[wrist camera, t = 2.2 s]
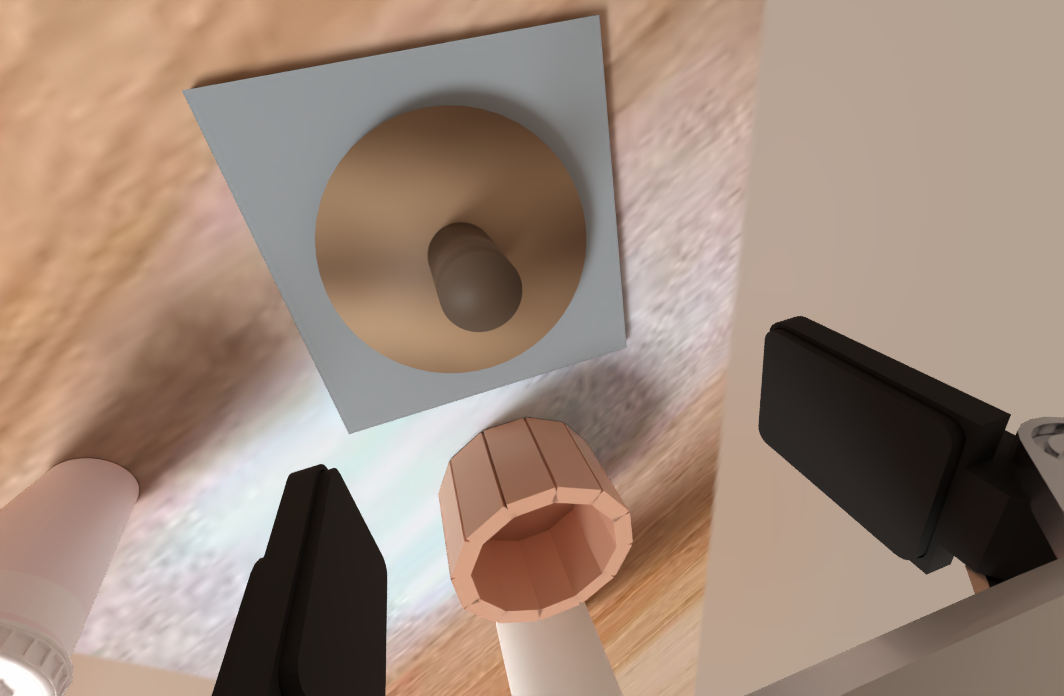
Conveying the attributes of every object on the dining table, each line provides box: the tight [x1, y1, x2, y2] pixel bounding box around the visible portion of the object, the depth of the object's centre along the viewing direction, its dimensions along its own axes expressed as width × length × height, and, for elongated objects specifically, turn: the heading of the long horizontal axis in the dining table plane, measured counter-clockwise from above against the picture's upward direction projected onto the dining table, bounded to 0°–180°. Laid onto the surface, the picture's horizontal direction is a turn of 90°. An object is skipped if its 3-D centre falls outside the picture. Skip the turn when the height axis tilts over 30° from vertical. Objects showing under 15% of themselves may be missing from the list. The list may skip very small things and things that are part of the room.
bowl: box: [439, 417, 633, 623], centre depth 27 cm, size 10×10×6 cm
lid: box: [315, 105, 586, 373], centre depth 19 cm, size 12×12×6 cm
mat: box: [182, 15, 627, 434], centre depth 22 cm, size 16×16×1 cm
